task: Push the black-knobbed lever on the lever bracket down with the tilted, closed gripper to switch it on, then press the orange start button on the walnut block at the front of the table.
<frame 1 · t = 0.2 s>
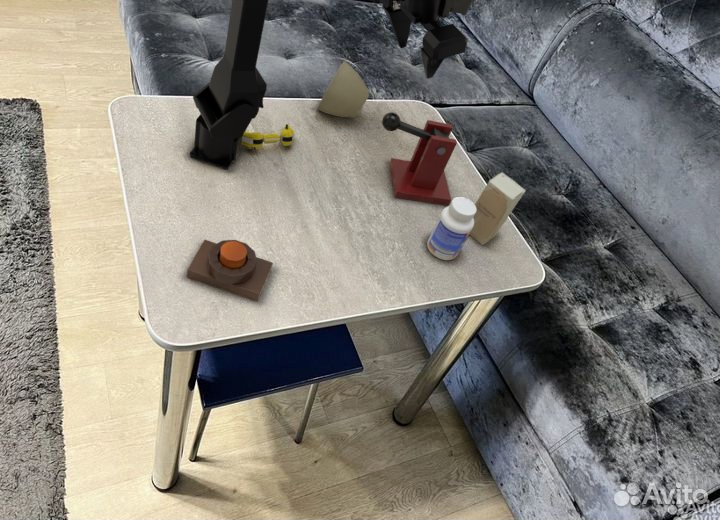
hand: (415, 62, 102), 15 cm above the table, tool pointing down, fingers open, 9 cm apart
box: (478, 232, 101), on the table
start button: (233, 254, 78), point 4 cm above the table, slide at 0.1 cm
lever bracket: (418, 184, 105), on the table
bowl: (364, 106, 110), point 4 cm above the table
button block: (230, 273, 81), on the table
pill bottle: (441, 249, 96), on the table
toaster lever: (414, 131, 96), point 11 cm above the table, hinge at 12.0°
yellow striped curved toy: (265, 144, 101), on the table
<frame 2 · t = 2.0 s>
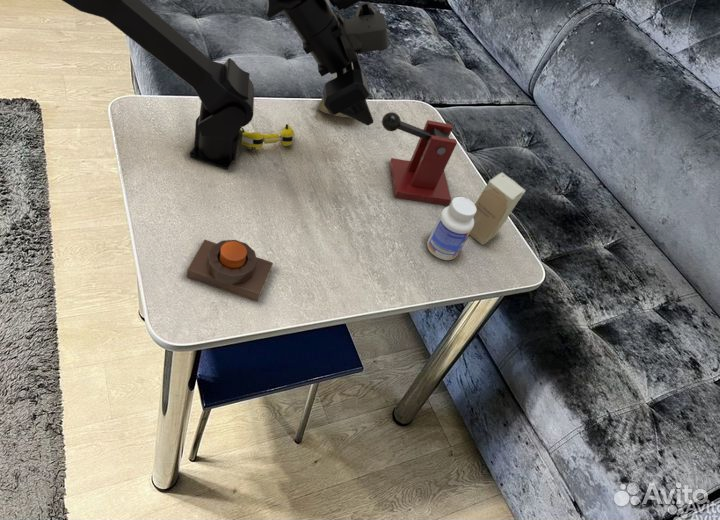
hand: (367, 105, 92), 14 cm above the table, tool tilted 45°, fingers open, 9 cm apart
nothing on the table moved.
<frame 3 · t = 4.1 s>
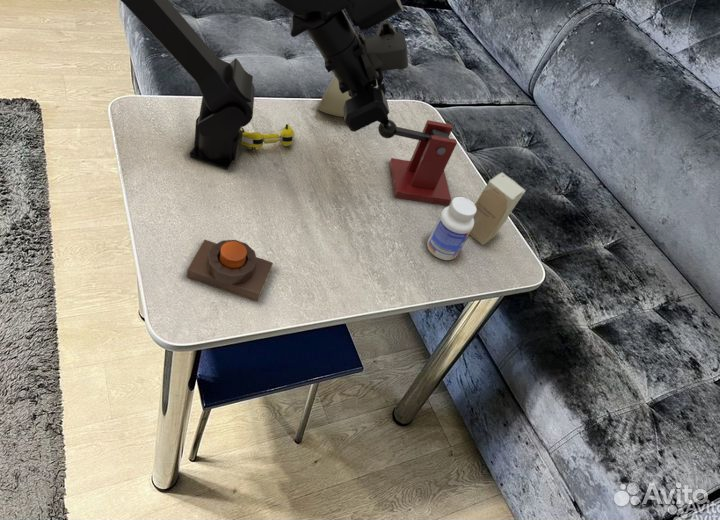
hand: (385, 121, 94), 12 cm above the table, tool tilted 45°, fingers closed, pressing on toaster lever
toaster lever: (412, 134, 97), point 10 cm above the table, hinge at 2.5°, touching gripper
everything else where it was.
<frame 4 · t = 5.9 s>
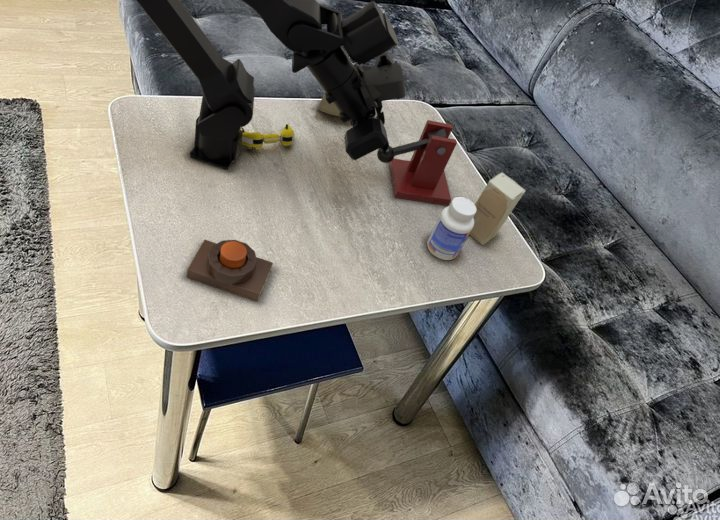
hand: (386, 146, 98), 7 cm above the table, tool tilted 45°, fingers closed, pressing on toaster lever
toaster lever: (411, 147, 99), point 8 cm above the table, hinge at -30.6°, touching gripper
everything else where it was.
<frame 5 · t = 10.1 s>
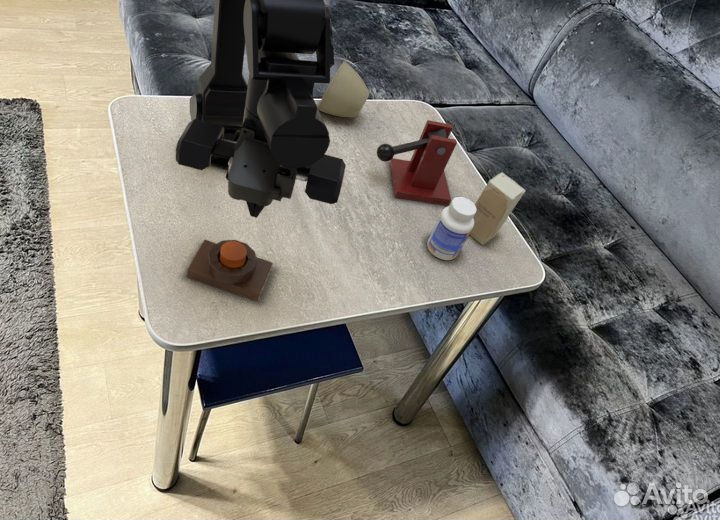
hand: (254, 214, 74), 11 cm above the table, tool pointing down, fingers closed
toaster lever: (411, 146, 98), point 8 cm above the table, hinge at -28.6°
everything else where it was.
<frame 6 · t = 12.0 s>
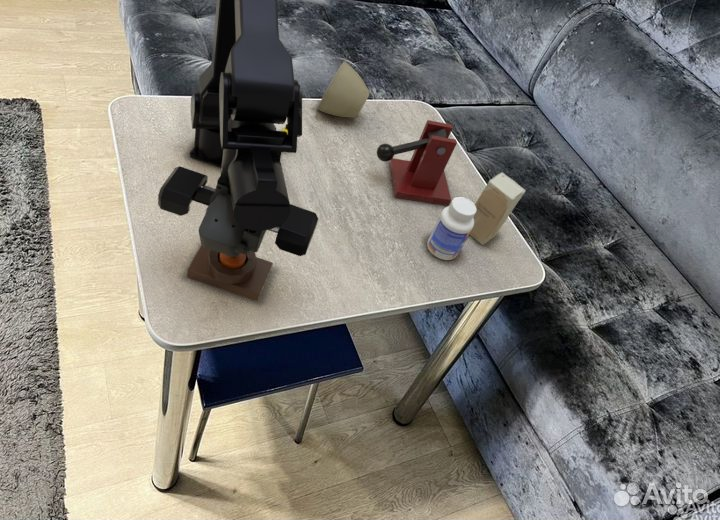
hand: (233, 254, 78), 4 cm above the table, tool pointing down, fingers closed, pressing on start button
start button: (232, 259, 79), point 3 cm above the table, slide at -0.8 cm, touching gripper
everything else where it was.
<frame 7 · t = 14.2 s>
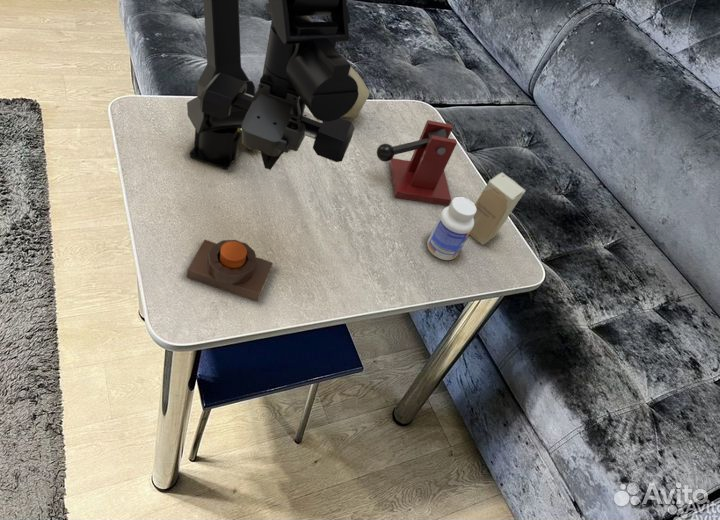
hand: (268, 167, 80), 12 cm above the table, tool pointing down, fingers closed
start button: (233, 254, 78), point 4 cm above the table, slide at 0.1 cm
everything else where it was.
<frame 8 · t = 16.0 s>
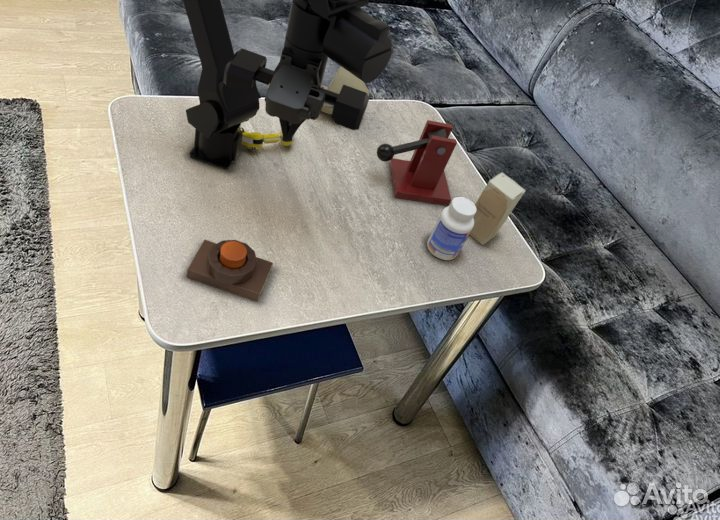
hand: (287, 139, 84), 12 cm above the table, tool pointing down, fingers closed
nothing on the table moved.
at the end: toaster lever at -29° (first picture: +12°); start button pushed in 1.1 cm at the most during the clip, back to where it started at the end; start button slide at 0.1 cm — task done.
